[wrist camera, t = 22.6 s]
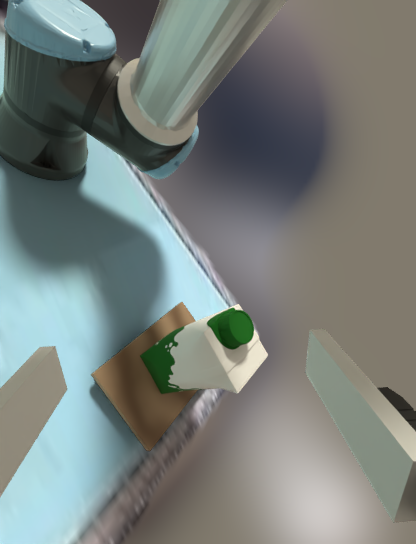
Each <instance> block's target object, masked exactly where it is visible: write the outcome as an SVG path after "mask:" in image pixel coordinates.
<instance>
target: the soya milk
mask: <svg viewBox="0 0 416 544" xmlns="http://www.w3.org/2000/svg"><path fill="white" fill-rule="evenodd" d="M267 356H268V354H267V352H266V351H265V349H264V347H263V346H262V344H261V342H260V340H259V336H258V335H257V333H256V331H255V330H254V326H253V323H252V320H251V318H250V317H249V315H248V314H247V313H246V312H244V311H243V310H242V308H241V307H240V305H239V304H237V305H235V306H232V307H230V308H228V309H225V310H223V311H220V312H218V313H215V314H213V315H210V316H208V317H205V318H203V319H200V320H198V321H195V322H193V323H191V324H188V325H186V326H183V327H181V328H178V329H176V330H174V331H172V332H171V333H169V334H168V335H166V336H165V337H164V338H162V339H161V340H159V341H158V342H157V343H156V344H154V345H153V346H152V347H150V348H149V349H148V350H147V351H145V352H144V353H143V354H141V355H140V357H141V359H142V360H143V362H144V364H145V366H146V368H147V369H148V371H149V373H150V375H151V377H152V378H153V380H154V382H155V384H156V385H157V387H158V389H159V391H160V393H161V394H165V393H173V392H180V391H187V390H201V389H216V388H221V389H224V390H228V391H232V392H235V393H238V392H240V390H241V389H242V388H243V386H244V385H245V384H246V383H247V381H248V380H249V379H250V377H251V376H252V375H253V374H254V372H255V371H256V370H257V368H258V367H259V366H260V365H261V364H262V362H263V361H264V360H265V358H266V357H267Z"/></svg>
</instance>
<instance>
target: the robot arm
mask: <svg viewBox="0 0 416 544" xmlns="http://www.w3.org/2000/svg"><path fill="white" fill-rule="evenodd" d="M286 1H287V0H160V3H159V6H158V8H157V11H156V14H155V17H154V20H153V22H152V26H151V28H150V31H149V34H148V36H147V39H146V42H145V45H144V48H143V50H142V53H141V56H140V58H137V59H134V60H132V61H130V62H129V63H128V64H127V63H126V62H125V61H123V60H122V59H121V58H120V57H119V56H118V55H116V54H115V52H116V39H115V35H114V33H113V31H112V30H111V29H110V28H109V26H108V24H107V23H106V22H105V21H104V19H103V18H101V16H99V15H98V14H97V13H96V12H95V11H94V10H93V9H91V8H90V7H89V6H87V5H86V4H84V3H83V2H81V1H80V0H9V3H8V10H7V18H6V19H5V22H4V27H5V29H6V35H5V64H4V91H3V93H2V95H1V96H0V155H1V156H2V157H3V158H4V159H5V160H6V161H8V162H9V163H10V164H12V165H13V166H15V167H16V168H18V169H20V170H22V171H24V172H26V173H28V174H30V175H33V176H36V177H40V178H44V179H50V180H65V179H69V178H72V177H75V176H76V175H78V174H79V173H80V172H81V171H82V170H83V168H84V166H85V163H86V161H87V157H88V148H87V134H86V132H87V133H88V134H90V135H91V136H93V137H94V138H96V139H97V140H98V141H100V142H101V143H103V144H104V145H106V146H107V147H109V148H110V149H112V150H113V151H114V152H116V153H117V154H119V155H120V156H122V157H123V158H125V159H126V160H127V161H129V162H130V163H132V164H133V165H135V166H136V167H137V168H138V169H139V170H140V171H141V172H144V173H147V174H148V175H150V176H151V177H153V178H155V179H163V178H166V177H168V176H169V175H171V174H172V173H173V172H174V171H175V170H176V169H177V168H178V166H179V164H180V163H182V162H183V161H184V160H185V159H186V157H187V156H188V154H189V153H190V152H191V150H192V148H193V146H194V144H195V142H196V140H197V138H198V133H199V130H198V127H197V125H196V124H197V116H198V113H197V110H198V109H199V108H200V106H201V105H202V104H203V103H204V102H205V100H206V99H207V98H208V97H209V96H210V94H211V93H212V92H213V91H214V89H215V88H216V87H217V86H218V84H219V83H220V82H221V81H222V80H223V78H224V77H225V76H226V75H227V74H228V72H229V71H230V70H231V69H232V67H233V66H234V65H235V64H236V62H237V61H238V60H239V59H240V58H241V56H242V55H243V54H244V53H245V51H246V50H247V49H248V48H249V47H250V45H251V44H252V43H253V42H254V41H255V39H256V38H257V37H258V36H259V34H260V33H261V32H262V30H264V28H265V27H266V26H267V25H268V23H269V22H270V21H271V20H272V18H273V17H274V16H275V15H276V14H277V12H278V11H279V10H280V9H281V8H282V6H283V5H284V4H285V2H286ZM305 373H306V374H307V376H308V378H309V379H310V381H311V383H312V385H313V386H314V388H315V390H316V391H317V393H318V395H319V396H320V398H321V400H322V402H323V403H324V405H325V407H326V408H327V410H328V412H329V414H330V415H331V417H332V419H333V421H334V422H335V424H336V426H337V427H338V429H339V431H340V432H341V434H342V436H343V437H344V439H345V441H346V443H347V444H348V446H349V448H350V449H351V451H352V453H353V455H354V456H355V458H356V460H357V461H358V463H359V465H360V467H361V468H362V470H363V472H364V474H365V475H366V477H367V479H368V480H369V482H370V484H371V485H372V487H373V489H374V491H375V492H376V494H377V496H378V497H379V499H380V501H381V502H382V504H383V506H384V507H385V509H386V511H387V512H388V515H389V516H390V518H391V520H392V521H393V523H395V522H406V521H416V411H414V410H413V408H412V407H411V406H410V405H409V404H408V403H407V402H406V401H405V400H404V399H403V397H401V396H400V395H398V394H397V393H395V392H394V391H392V390H391V389H389V388H388V387H383V388H377V387H376V386H375V385H374V384H373V383H372V382H371V381H370V380H369V379H368V377H367V376H366V375H365V374H364V373H363V372H362V371H361V370H360V369H359V367H358V366H357V365H356V364H355V363H354V362H353V361H352V359H351V358H350V357H349V356H348V355H347V354H346V353H345V352H344V351H343V349H342V348H341V347H340V346H339V345H338V344H337V343H336V342H335V340H334V339H333V338H332V337H331V336H330V335H329V334H328V333H327V331H326V330H325V329H315V330H310V334H309V344H308V353H307V362H306V372H305ZM66 391H67V386H66V383H65V379H64V376H63V372H62V369H61V365H60V362H59V358H58V355H57V351H56V348H55V346H52V347H39V348H38V350H37V351H36V352H35V353H34V354H33V355H32V356H31V357H30V358H29V359H28V360H27V361H26V362H25V363H24V364H23V365H22V366H21V367H20V368H19V369H18V371H17V372H16V373H15V374H14V375H13V376H12V377H11V378H10V379H9V380H8V381H7V382H6V383H5V384H4V385H3V386H2V387H1V388H0V497H1V495H2V493H3V492H4V490H5V488H6V487H7V485H8V484H9V482H10V480H11V479H12V477H13V476H14V474H15V472H16V471H17V469H18V468H19V466H20V464H21V463H22V461H23V460H24V458H25V456H26V455H27V453H28V452H29V450H30V448H31V447H32V445H33V444H34V442H35V440H36V439H37V437H38V436H39V434H40V432H41V431H42V429H43V428H44V426H45V424H46V423H47V421H48V419H49V418H50V416H51V415H52V413H53V411H54V410H55V408H56V407H57V405H58V403H59V402H60V400H61V399H62V397H63V395H64V394H65V392H66Z"/></svg>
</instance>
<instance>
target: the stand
mask: <svg viewBox="0 0 416 544" xmlns="http://www.w3.org/2000/svg"><path fill="white" fill-rule="evenodd" d="M193 322H195V319H194V318H193V317H192V315H191V314H190V312H189V311H188V309H187V308H186V306H185V305H184V304H183V302H181V303H179V304H178V305H177V306H175V307H174V308H173V309H172V310H170V311H169V312H168V313H167V314H165V315H164V316H163V317H162V318H160V319H159V320H158V321H157V322H155V323H154V324H153V325H152V326H150V327H149V328H148V329H147V330H145V331H144V332H143V333H142V334H140V335H139V336H138V337H137V338H136V339H134V340H133V341H132V342H131V343H129V344H128V345H127V346H126V347H124V348H123V349H122V350H121V351H119V352H118V353H117V354H116V355H114V356H113V357H112V358H111V359H109V360H108V361H107V362H106V363H104V364H103V365H102V366H101V367H99V368H98V369H97V370H96V371H95V372H93V373H92V374H91V376H92V377H93V378H94V380H95V381H96V382H97V384H98V385H99V386H100V388H101V389H102V391H103V392H104V393H105V395H106V396H107V397H108V399H109V400H110V402H111V403H112V404H113V406H114V407H115V408H116V410H117V411H118V412H119V414H120V415H121V417H122V418H123V419H124V421H125V422H126V423H127V425H128V426H129V428H130V429H131V430H132V432H133V433H134V434H135V436H136V437H137V438H138V440H139V441H140V443H141V444H142V445H143V447H144V448H145V449H146V451H151V449H152V448H153V447H154V446H155V444H156V443H157V442H158V440H159V439H160V438H161V436H162V435H163V434H164V433H165V431H166V430H167V429H168V427H169V426H170V425H171V424H172V422H173V421H174V420H175V418H176V417H177V416H178V415H179V413H180V412H181V411H182V409H183V408H184V407H185V406H186V404H187V403H188V402H189V400H190V399H191V398H192V396H193V395H194V394H195V393H196V391H197V390H187V391H180V392H173V393H165V394H161V393H160V391H159V389H158V387H157V385H156V384H155V382H154V380H153V378H152V377H151V375H150V373H149V371H148V369H147V368H146V366H145V364H144V362H143V360H142V359H141V357H140V355H141V354H143V353H144V352H145V351H147V350H148V349H149V348H150V347H152V346H153V345H154V344H156V343H157V342H158V341H159V340H161V339H162V338H164V337H165V336H166V335H168V334H169V333H171V332H172V331H174V330H176V329H178V328H181V327H183V326H186V325H188V324H191V323H193Z"/></svg>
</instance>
